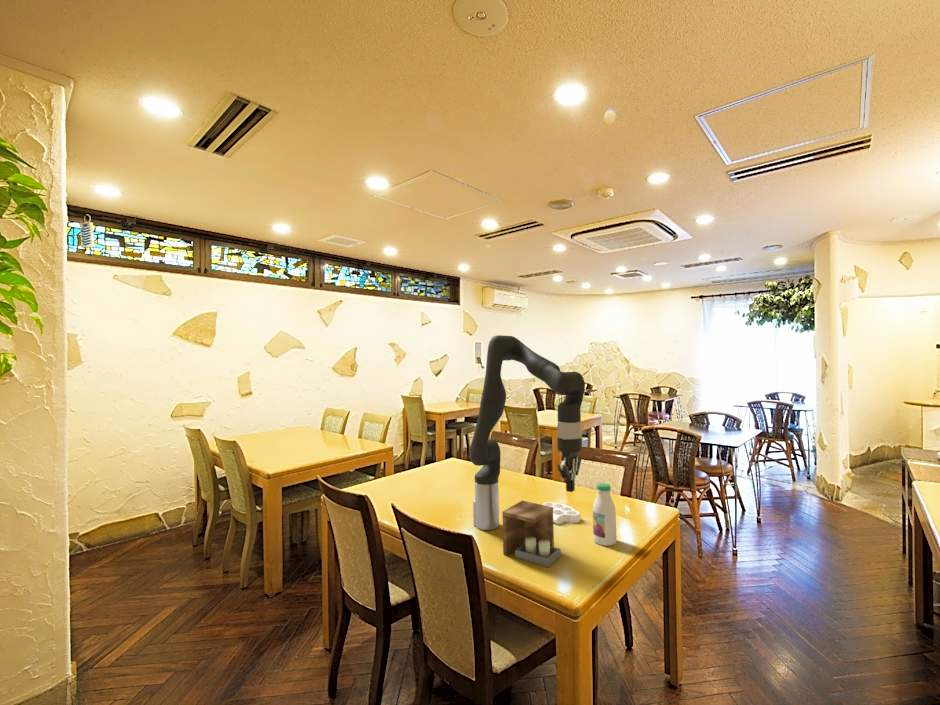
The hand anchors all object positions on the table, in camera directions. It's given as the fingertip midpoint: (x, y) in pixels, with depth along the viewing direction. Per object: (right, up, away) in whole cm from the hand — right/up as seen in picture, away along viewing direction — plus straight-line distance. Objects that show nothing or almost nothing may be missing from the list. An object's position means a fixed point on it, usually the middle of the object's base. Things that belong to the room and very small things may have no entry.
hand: (570, 491), depth 131 cm
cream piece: (-7, -23, +5) cm, 25 cm away
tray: (-9, -24, +6) cm, 26 cm away
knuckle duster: (+5, -24, +40) cm, 47 cm away
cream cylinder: (-11, -23, +8) cm, 27 cm away
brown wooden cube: (-12, -24, +10) cm, 28 cm away
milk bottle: (+16, -23, +16) cm, 33 cm away
